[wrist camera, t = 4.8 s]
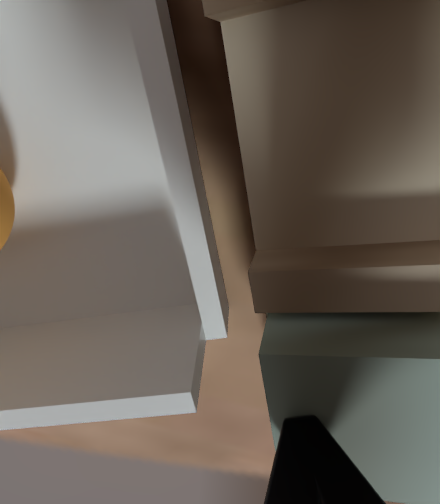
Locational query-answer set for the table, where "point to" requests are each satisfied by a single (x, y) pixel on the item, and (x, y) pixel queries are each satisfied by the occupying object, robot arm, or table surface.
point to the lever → (346, 221)
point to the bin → (101, 218)
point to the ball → (5, 209)
